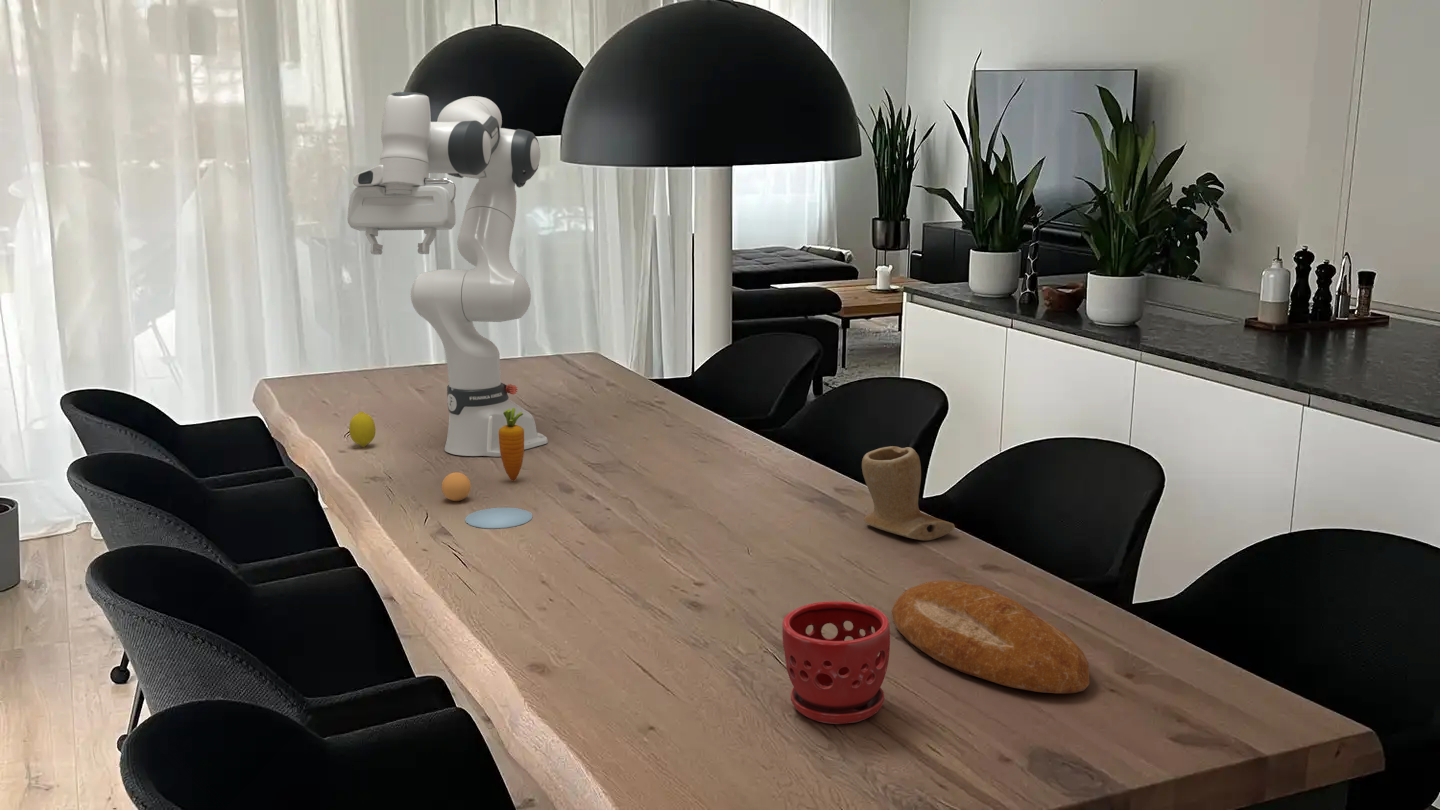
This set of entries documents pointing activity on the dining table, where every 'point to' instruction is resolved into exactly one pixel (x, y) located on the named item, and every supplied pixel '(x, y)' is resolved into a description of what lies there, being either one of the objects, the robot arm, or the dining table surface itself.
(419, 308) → the robot arm
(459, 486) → the ball
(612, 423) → the dining table surface
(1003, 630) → the bread
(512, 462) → the carrot
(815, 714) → the plant pot
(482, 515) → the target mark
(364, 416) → the lemon
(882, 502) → the tan boot-shaped piece
